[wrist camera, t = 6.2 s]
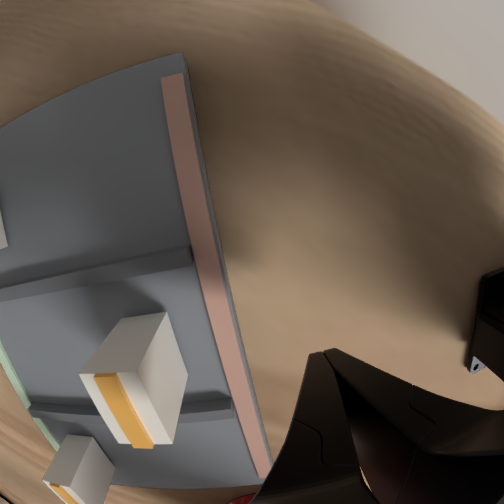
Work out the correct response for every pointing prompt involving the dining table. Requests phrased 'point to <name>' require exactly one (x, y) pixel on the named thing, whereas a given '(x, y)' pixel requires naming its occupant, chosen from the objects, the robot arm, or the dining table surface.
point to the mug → (243, 499)
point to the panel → (123, 272)
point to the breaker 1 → (2, 235)
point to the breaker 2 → (80, 471)
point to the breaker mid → (138, 380)
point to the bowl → (3, 501)
